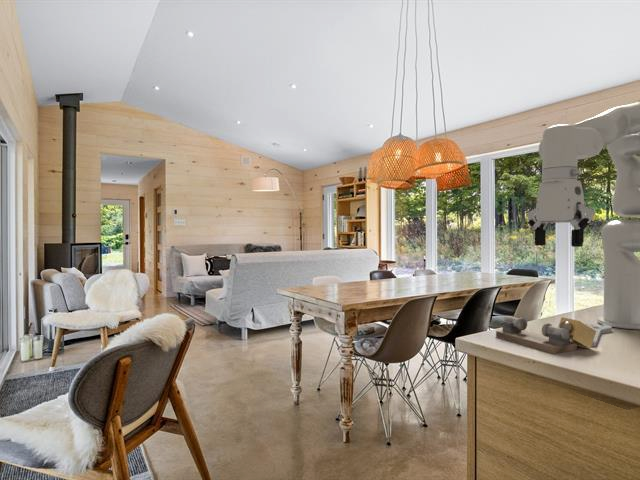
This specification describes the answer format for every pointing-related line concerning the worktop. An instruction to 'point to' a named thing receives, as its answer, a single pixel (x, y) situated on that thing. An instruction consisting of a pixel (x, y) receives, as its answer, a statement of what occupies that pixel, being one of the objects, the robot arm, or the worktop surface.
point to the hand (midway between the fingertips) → (557, 245)
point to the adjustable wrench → (599, 331)
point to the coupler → (578, 332)
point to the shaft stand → (536, 336)
